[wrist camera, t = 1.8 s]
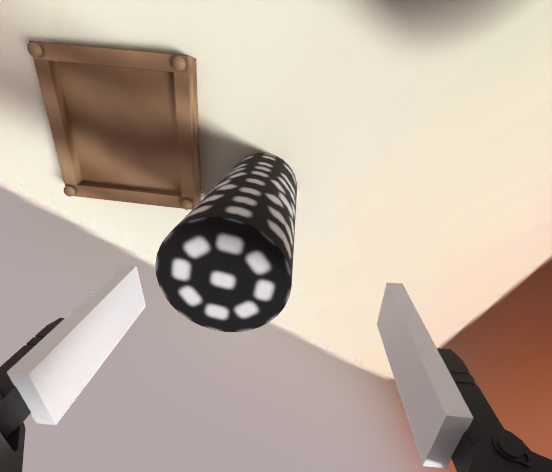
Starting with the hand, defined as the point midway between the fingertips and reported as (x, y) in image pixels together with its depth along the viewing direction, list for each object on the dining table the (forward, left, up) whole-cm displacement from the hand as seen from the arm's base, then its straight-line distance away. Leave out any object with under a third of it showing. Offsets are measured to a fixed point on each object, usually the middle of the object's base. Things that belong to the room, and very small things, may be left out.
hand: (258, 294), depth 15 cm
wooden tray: (-4, -18, -22) cm, 29 cm away
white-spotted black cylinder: (+1, -2, -22) cm, 22 cm away
